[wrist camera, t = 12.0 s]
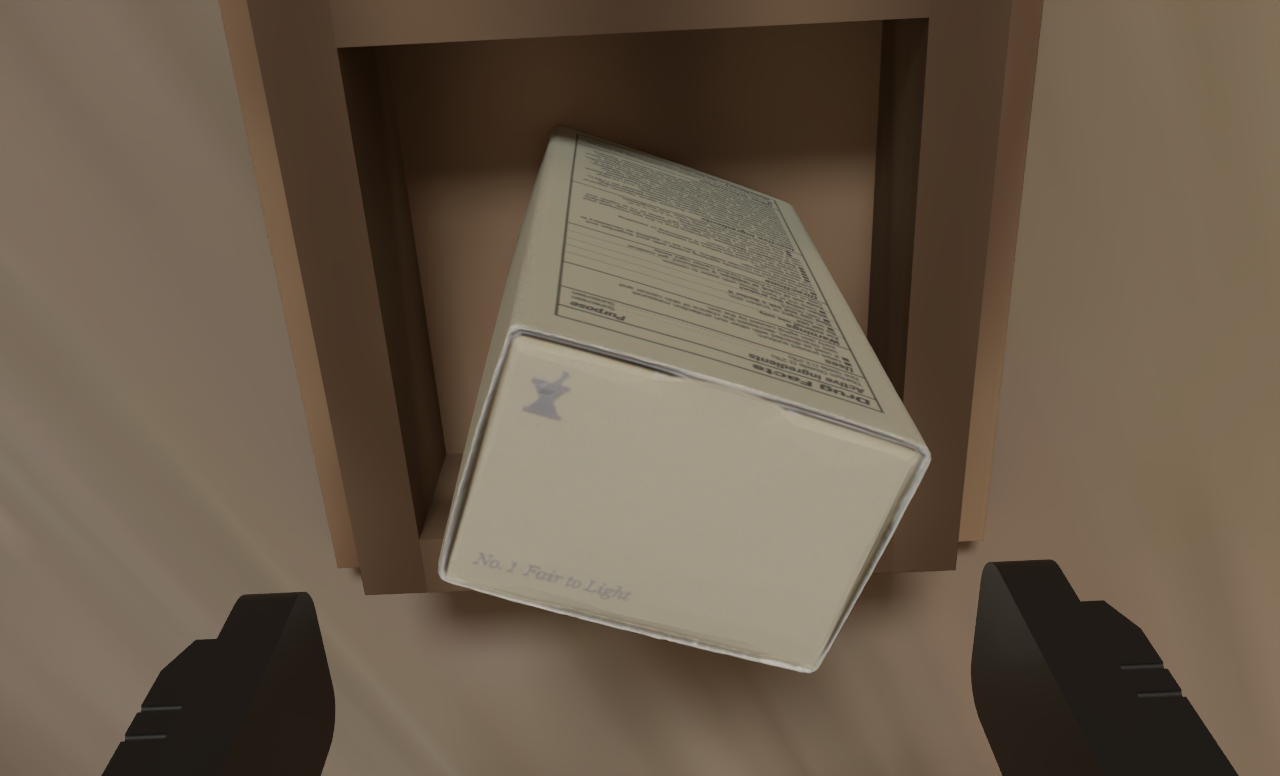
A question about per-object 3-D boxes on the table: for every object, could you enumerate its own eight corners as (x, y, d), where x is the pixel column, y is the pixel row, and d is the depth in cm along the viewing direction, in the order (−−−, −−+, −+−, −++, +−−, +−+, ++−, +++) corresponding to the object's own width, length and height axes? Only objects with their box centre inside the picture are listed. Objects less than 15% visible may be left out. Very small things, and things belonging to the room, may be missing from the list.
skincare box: (503, 284, 26) (410, 585, 15) (556, 111, 24) (492, 313, 14) (742, 360, 27) (814, 694, 16) (810, 198, 25) (943, 453, 14)
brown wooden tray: (346, 547, 31) (297, 664, 26) (204, -150, 23) (99, -153, 18) (972, 520, 31) (1030, 634, 26) (1048, -197, 23) (1151, -211, 18)
